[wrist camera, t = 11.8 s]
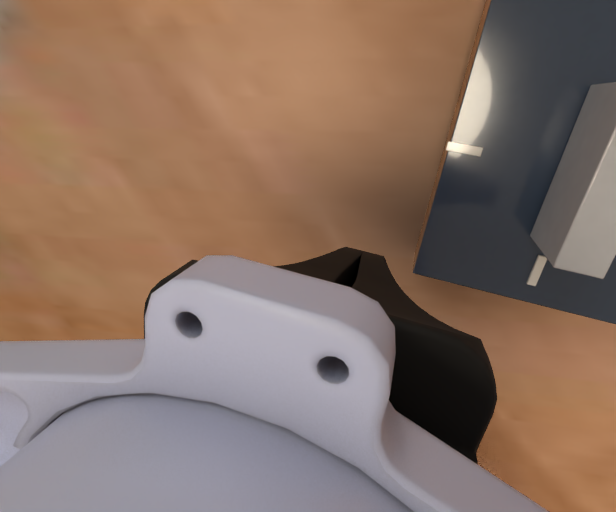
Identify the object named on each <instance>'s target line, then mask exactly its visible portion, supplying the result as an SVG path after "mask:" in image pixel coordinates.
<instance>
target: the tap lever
mask: <svg viewBox="0 0 616 512" xmlns="http://www.w3.org/2000/svg"><path fill="white" fill-rule="evenodd" d="M530 237H531V238H532V240H533V241H534V242H535V244H536V245H537V246H538V248H539V249H540V250H541V252H542V253H543V254H544V256H545V257H546V258H547V260H548V261H549V262H550V264H551V265H552V266H553V267H554V268H558V269H562V270H566V271H570V272H575V273H579V274H583V275H587V276H592V277H596V278H600V279H603V278H604V277H605V275H606V273H607V271H608V269H609V267H610V265H611V263H612V261H613V259H614V257H615V255H616V82H610V83H601V84H593V85H591V86H590V89H589V91H588V94H587V96H586V98H585V101H584V103H583V106H582V108H581V111H580V113H579V116H578V118H577V121H576V123H575V126H574V128H573V131H572V133H571V135H570V138H569V140H568V143H567V145H566V148H565V150H564V153H563V155H562V158H561V160H560V163H559V165H558V168H557V170H556V172H555V175H554V177H553V180H552V182H551V185H550V187H549V190H548V192H547V195H546V197H545V200H544V202H543V205H542V207H541V210H540V212H539V214H538V217H537V219H536V222H535V224H534V227H533V229H532V232H531V234H530Z"/></svg>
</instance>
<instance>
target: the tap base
mask: <svg viewBox="0 0 616 512" xmlns="http://www.w3.org/2000/svg"><path fill="white" fill-rule="evenodd" d="M610 82H616V0H486V2H485V6H484V9H483V13H482V16H481V20H480V23H479V27H478V30H477V34H476V37H475V41H474V45H473V48H472V52H471V55H470V59H469V62H468V66H467V69H466V73H465V76H464V80H463V83H462V87H461V90H460V94H459V98H458V101H457V105H456V108H455V112H454V115H453V119H452V122H451V126H450V129H449V133H448V136H447V140H446V143H445V147H444V150H443V154H442V158H441V161H440V165H439V168H438V172H437V175H436V179H435V182H434V186H433V189H432V193H431V196H430V200H429V203H428V207H427V210H426V214H425V218H424V221H423V225H422V228H421V232H420V235H419V239H418V242H417V246H416V249H415V255H414V265H413V273H415V274H419V275H423V276H427V277H431V278H434V279H438V280H442V281H446V282H450V283H454V284H458V285H462V286H466V287H470V288H474V289H478V290H482V291H486V292H490V293H494V294H498V295H502V296H506V297H510V298H514V299H518V300H522V301H526V302H530V303H534V304H537V305H541V306H545V307H549V308H553V309H557V310H561V311H565V312H569V313H573V314H577V315H581V316H585V317H589V318H593V319H597V320H601V321H605V322H609V323H613V324H616V255H615V257H614V259H613V261H612V263H611V265H610V267H609V269H608V271H607V273H606V275H605V277H604V278H603V279H600V278H596V277H592V276H587V275H583V274H579V273H575V272H570V271H566V270H562V269H558V268H554V267H553V266H552V265H551V264H550V262H549V261H548V260H547V258H546V257H545V256H544V254H543V253H542V252H541V250H540V249H539V248H538V246H537V245H536V244H535V242H534V241H533V240H532V238H531V237H530V234H531V232H532V229H533V227H534V224H535V222H536V219H537V217H538V214H539V212H540V210H541V207H542V205H543V202H544V200H545V197H546V195H547V192H548V190H549V187H550V185H551V182H552V180H553V177H554V175H555V172H556V170H557V168H558V165H559V163H560V160H561V158H562V155H563V153H564V150H565V148H566V145H567V143H568V140H569V138H570V135H571V133H572V131H573V128H574V126H575V123H576V121H577V118H578V116H579V113H580V111H581V108H582V106H583V103H584V101H585V98H586V96H587V94H588V91H589V89H590V86H591V85H593V84H601V83H610Z"/></svg>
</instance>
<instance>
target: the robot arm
mask: <svg viewBox="0 0 616 512" xmlns="http://www.w3.org/2000/svg"><path fill="white" fill-rule="evenodd" d="M496 401H497V393H496V384H495V379H494V374H493V370H492V367H491V364H490V361H489V358H488V356H487V353H486V351H485V349H484V346H483V344H482V341H481V339H479V338H476V337H474V336H471V335H469V334H466V333H464V332H462V331H459V330H457V329H454V328H452V327H450V326H448V325H446V324H445V323H443V322H441V321H439V320H437V319H436V318H434V317H433V316H431V315H429V314H428V313H427V312H425V311H424V310H423V309H421V308H420V307H419V306H417V305H416V304H415V303H414V302H413V301H412V300H411V299H410V298H409V297H408V296H407V295H406V294H405V293H404V292H403V291H402V289H401V288H400V287H399V285H398V284H397V283H396V281H395V279H394V278H393V276H392V274H391V272H390V270H389V268H388V265H387V263H386V260H385V258H384V256H381V255H377V254H373V253H369V252H365V251H361V250H357V249H353V248H348V247H344V248H341V249H338V250H336V251H333V252H331V253H328V254H325V255H323V256H320V257H317V258H313V259H310V260H307V261H303V262H299V263H295V264H289V265H283V266H269V265H266V264H262V263H258V262H255V261H251V260H247V259H243V258H240V257H236V256H232V255H207V256H205V257H204V258H202V259H201V260H199V261H197V260H191V261H190V262H188V263H187V264H185V265H184V266H182V267H181V268H179V269H178V270H176V271H175V272H173V273H172V274H170V275H169V276H167V277H165V278H164V279H162V280H161V281H160V282H159V283H158V284H157V285H156V286H155V287H154V288H153V289H152V290H151V291H150V293H149V296H148V298H147V300H146V302H145V310H144V339H116V340H54V341H0V512H549V511H547V510H546V509H544V508H543V507H541V506H540V505H538V504H537V503H535V502H534V501H532V500H531V499H529V498H528V497H526V496H525V495H523V494H522V493H520V492H519V491H517V490H516V489H514V488H513V487H511V486H510V485H508V484H506V483H505V482H503V481H502V480H500V479H499V478H497V477H496V476H494V475H493V474H491V473H490V472H488V471H487V470H485V469H484V468H482V467H481V466H479V465H478V464H477V457H476V451H477V449H478V446H479V444H480V442H481V440H482V438H483V435H484V433H485V431H486V429H487V427H488V424H489V422H490V420H491V418H492V415H493V413H494V409H495V405H496Z"/></svg>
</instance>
